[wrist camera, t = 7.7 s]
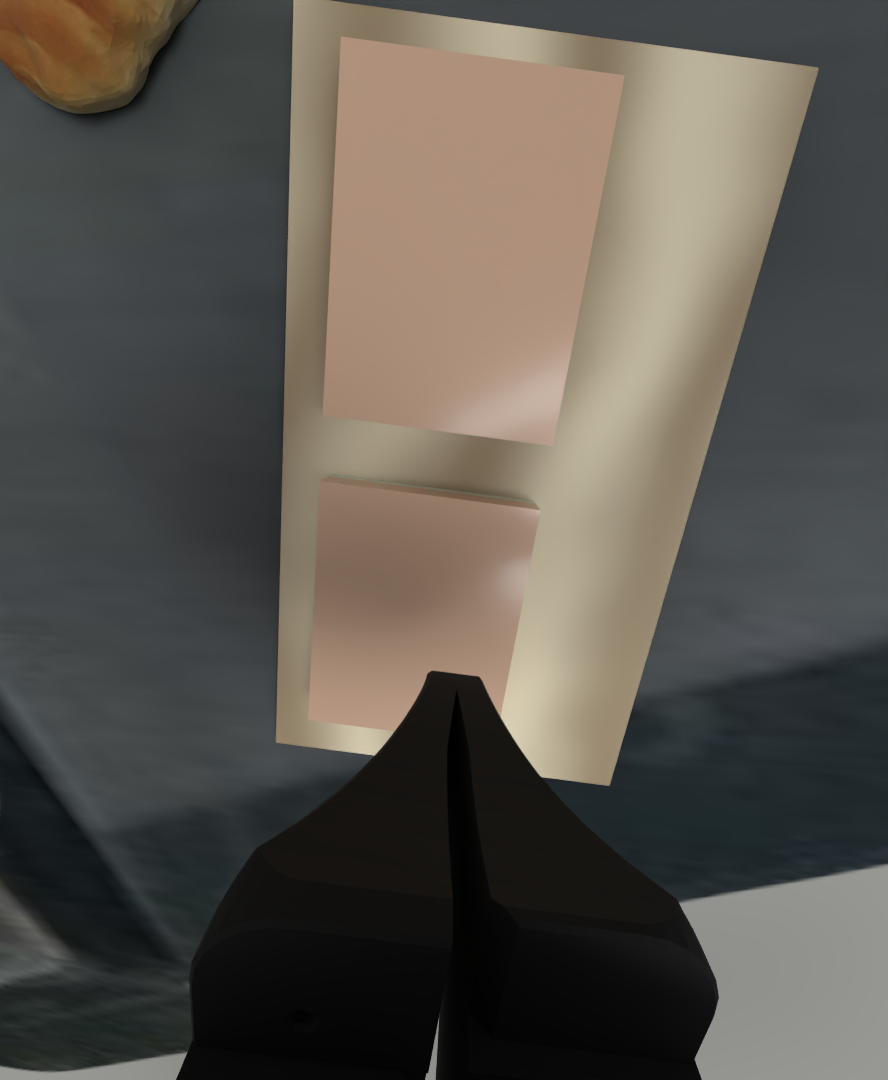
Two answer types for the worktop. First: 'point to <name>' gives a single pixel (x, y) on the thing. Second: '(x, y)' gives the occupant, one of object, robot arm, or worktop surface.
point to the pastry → (86, 47)
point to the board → (592, 379)
